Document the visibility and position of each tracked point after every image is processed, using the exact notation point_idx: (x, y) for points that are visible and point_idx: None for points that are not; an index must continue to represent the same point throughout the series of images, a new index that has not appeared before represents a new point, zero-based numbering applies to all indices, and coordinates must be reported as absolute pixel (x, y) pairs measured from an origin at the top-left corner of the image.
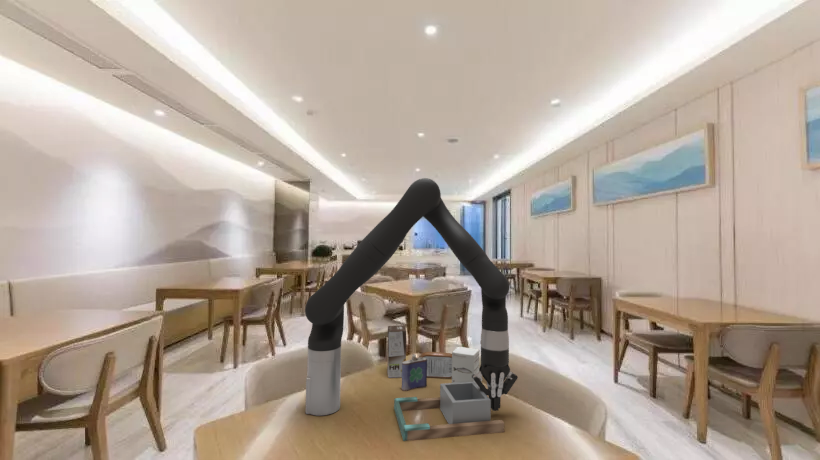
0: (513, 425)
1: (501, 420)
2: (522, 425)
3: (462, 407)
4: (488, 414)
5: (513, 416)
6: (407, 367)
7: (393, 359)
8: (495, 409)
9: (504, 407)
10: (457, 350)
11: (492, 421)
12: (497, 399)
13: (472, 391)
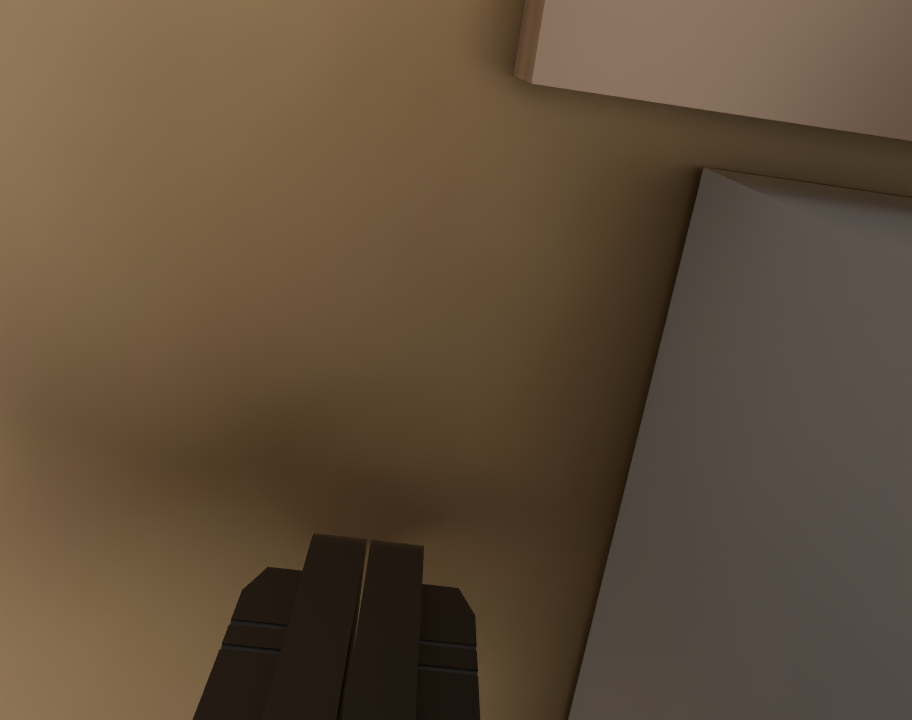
0: (193, 163)
1: (554, 54)
2: (15, 110)
3: None
4: (870, 229)
5: (37, 440)
6: None
7: None
8: (384, 550)
9: (56, 715)
10: None
11: (794, 82)
12: (304, 701)
13: None
